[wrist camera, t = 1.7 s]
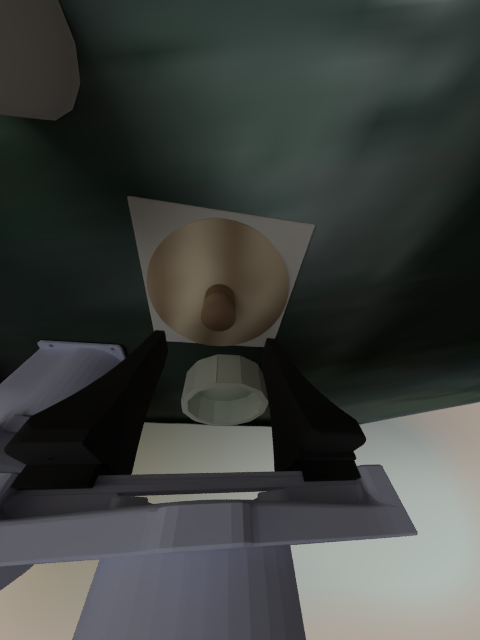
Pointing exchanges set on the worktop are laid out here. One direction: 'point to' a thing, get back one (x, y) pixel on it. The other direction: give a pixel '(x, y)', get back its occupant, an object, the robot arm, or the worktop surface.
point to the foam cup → (36, 60)
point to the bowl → (224, 390)
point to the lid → (217, 282)
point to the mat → (165, 217)
